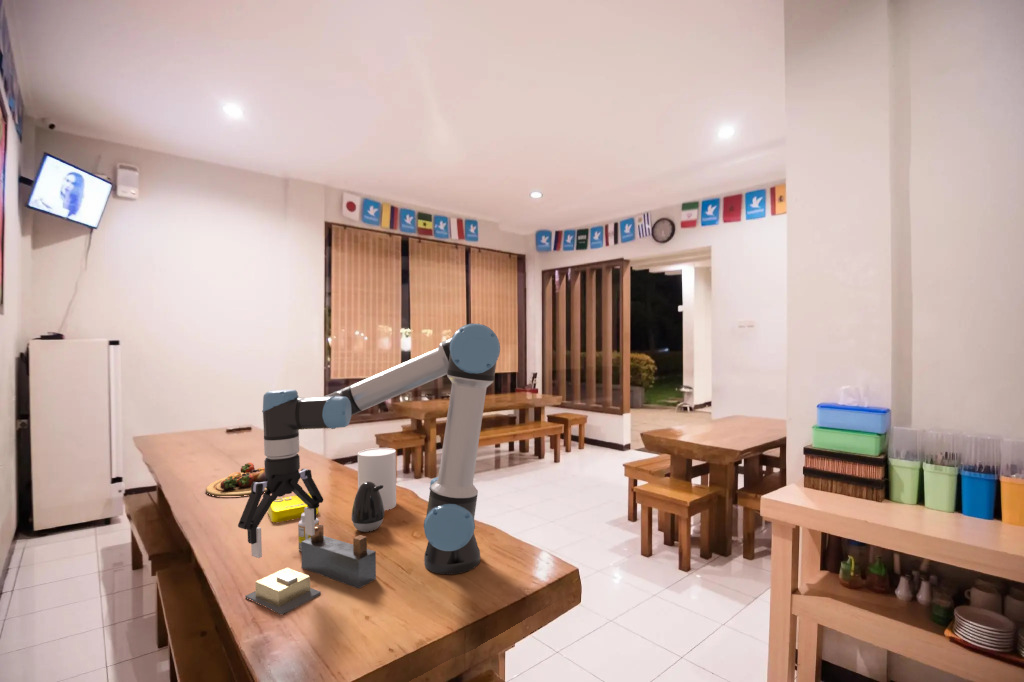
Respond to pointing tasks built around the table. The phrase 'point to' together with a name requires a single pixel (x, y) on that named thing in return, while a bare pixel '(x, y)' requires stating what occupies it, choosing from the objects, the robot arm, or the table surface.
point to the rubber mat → (287, 606)
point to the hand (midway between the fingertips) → (284, 544)
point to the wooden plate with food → (238, 482)
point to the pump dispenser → (368, 507)
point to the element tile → (287, 508)
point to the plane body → (339, 559)
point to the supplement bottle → (301, 530)
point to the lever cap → (282, 586)
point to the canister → (379, 472)
